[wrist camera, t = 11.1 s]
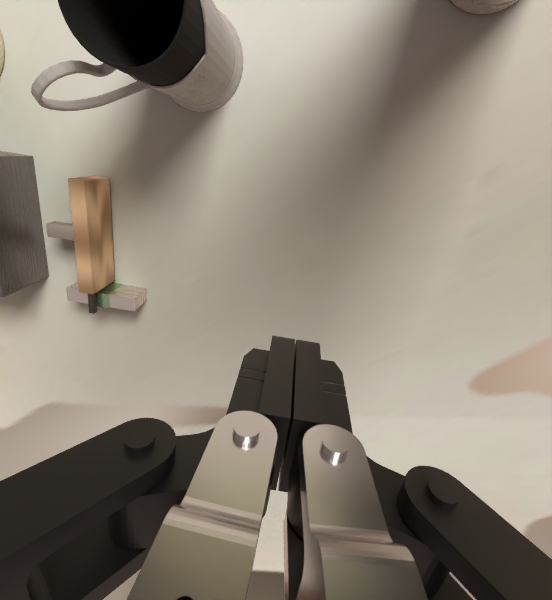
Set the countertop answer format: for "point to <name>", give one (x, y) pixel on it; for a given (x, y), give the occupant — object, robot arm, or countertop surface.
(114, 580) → the robot arm
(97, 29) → the black and white mug
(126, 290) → the set of grey blocks
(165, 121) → the countertop surface
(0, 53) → the can
